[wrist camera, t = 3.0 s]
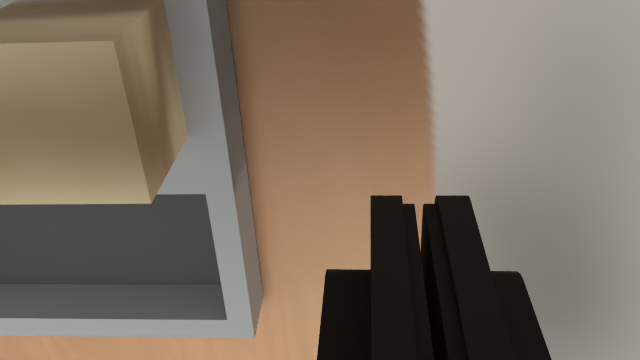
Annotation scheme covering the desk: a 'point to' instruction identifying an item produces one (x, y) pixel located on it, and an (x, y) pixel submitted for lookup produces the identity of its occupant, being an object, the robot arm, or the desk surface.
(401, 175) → the desk surface
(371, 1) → the desk surface
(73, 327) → the board
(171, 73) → the maple block
